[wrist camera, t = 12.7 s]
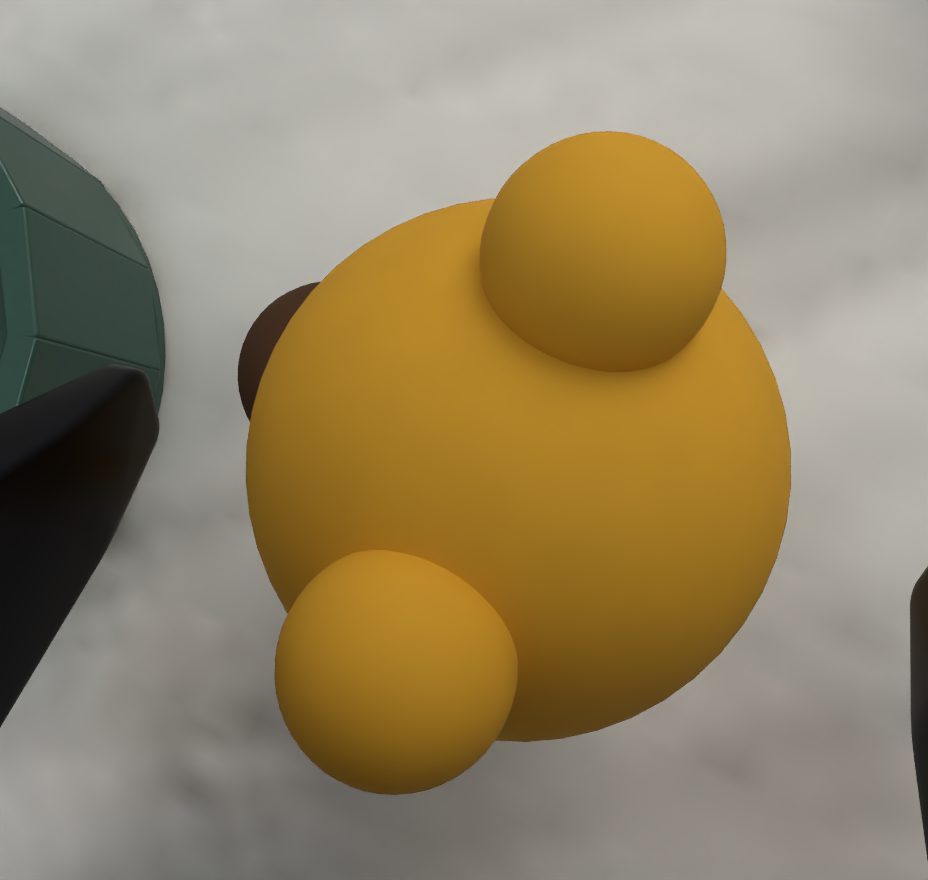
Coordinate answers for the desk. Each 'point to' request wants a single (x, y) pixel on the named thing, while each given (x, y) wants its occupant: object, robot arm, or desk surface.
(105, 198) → the pot
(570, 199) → the toy
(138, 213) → the desk surface
